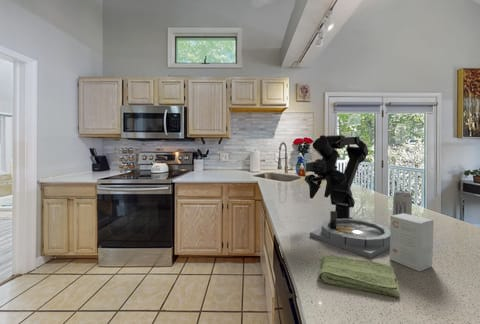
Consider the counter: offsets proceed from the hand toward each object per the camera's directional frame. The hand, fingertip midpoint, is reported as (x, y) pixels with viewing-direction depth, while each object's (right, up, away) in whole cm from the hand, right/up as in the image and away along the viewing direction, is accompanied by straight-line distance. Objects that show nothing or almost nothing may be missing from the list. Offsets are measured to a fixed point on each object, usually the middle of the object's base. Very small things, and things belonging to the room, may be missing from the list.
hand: (318, 197), depth 95 cm
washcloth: (-1, -16, -33) cm, 37 cm away
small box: (+18, -15, -26) cm, 35 cm away
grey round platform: (+11, -13, -8) cm, 19 cm away
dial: (+11, -12, -8) cm, 18 cm away
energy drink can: (+33, -13, +1) cm, 35 cm away
